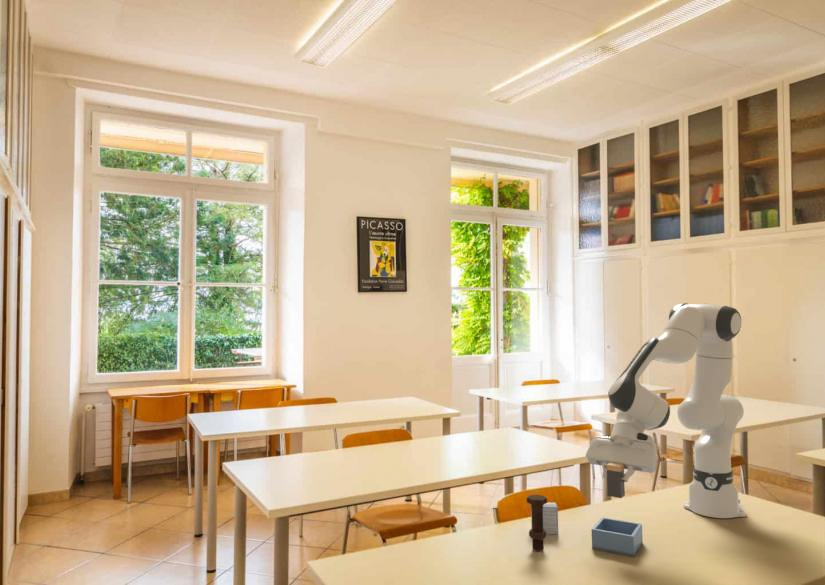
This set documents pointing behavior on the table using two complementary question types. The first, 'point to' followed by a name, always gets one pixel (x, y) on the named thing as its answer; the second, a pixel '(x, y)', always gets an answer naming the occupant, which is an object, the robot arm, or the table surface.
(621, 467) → the block
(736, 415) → the robot arm
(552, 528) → the medicine box
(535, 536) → the bolt
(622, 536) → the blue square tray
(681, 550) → the table surface
